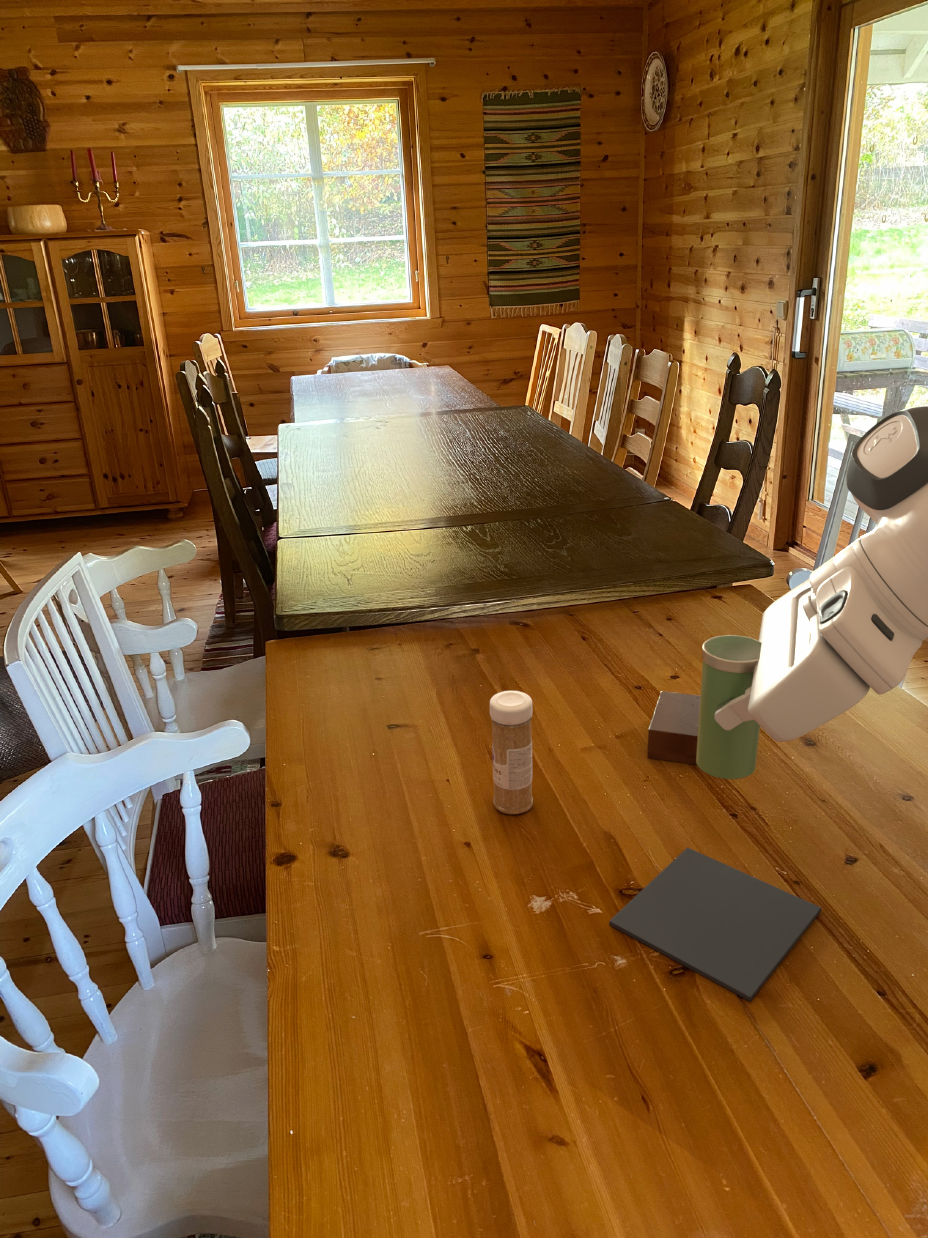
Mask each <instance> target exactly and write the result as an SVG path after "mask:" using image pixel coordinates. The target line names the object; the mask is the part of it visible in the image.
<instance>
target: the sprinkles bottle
mask: <svg viewBox="0 0 928 1238" xmlns="http://www.w3.org/2000/svg"><path fill="white" fill-rule="evenodd" d="M533 710H534V709H533V700H532V698H531V696H530V695H528V694H527V693H525V692H522V691H520V690H503V691H499V692H498V693H495V694H494V695H492V697H491V698H490V700H489V717H490V718H491V726H492V727H491V729H492V731H491V732H492V744H491V745H492V747H491V748H492V779H493V799H492V801H493V806H494V808H495V809H496V810H498V811H499V812H500V813H503V814H506V815H519V814H523V813H527V812H528V811H529V810H530V809H532V807H533V805H534V797H533V783H532V782H533V737H532V718H533V712H534V711H533Z"/></svg>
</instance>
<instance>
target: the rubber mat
mask: <svg viewBox="0 0 928 1238" xmlns="http://www.w3.org/2000/svg"><path fill="white" fill-rule="evenodd" d="M821 912H822V907H821V906H819V905H816V904H815V903H813V902H810V901H808V900H805V899H803V898H801V897H799V896H797V895H794V894H792V893H790V892H788V891H786V890H784V889H781V888H779V887H776V886H774V885H772V884H770V883H767V882H766V881H763V880H761V879H759V878H757V877H755V876H752V875H750V874H748V873H746V872H743V871H740V870H739V869H736V868H734V867H733V866H730V865H728V864H726V863H723V862H721V861H718V860H716V859H714V858H712V857H710V856H707V855H706V854H704V853H701V852H699V851H697V850H694V849H692V848H690V847H686V848H685V849H684V850H683V851H682V852H681V853H680V854H679V855H678V856H677V857H675V858H674V860H672V861H671V862H670V863H669V864H668V865H667V866H666V867H665V868H664V869H663V870H662V871H661V872H659V874H658V875H656V876H655V877H654V878H653V879H652V880H651V881H650V882H649V883H648V884H647V885H646V886H645V887H644V888H643V889H642V890H640V892H638V893H637V894H636V895H635V896H634V897H633V898H632V899H631V900H630V901H629V902H628V903H627V904H626V905H625V906H623V908H621V910H619V911H618V912H617V913H616V914H615V915H614V916H613V917H612V918H611V919H610V920H609V921H608V922H609V923H608V924H609V926H610V927H612V928H613V929H616V930H617V931H620V932H621V933H623V934H625V935H627V936H628V937H631V938H632V939H634V940H636V941H638V942H640V943H642V944H643V945H645V946H646V947H649V948H651V949H652V950H655V951H656V952H658V953H660V954H662V955H664V956H665V957H667V958H670V959H671V960H672V961H675V962H676V963H678V964H681V965H682V966H684V967H686V968H688V969H689V970H691V971H693V972H694V973H697V974H699V975H700V976H702V977H704V978H705V979H708V980H709V981H711V982H713V983H715V984H717V985H718V986H720V987H722V988H724V989H726V990H728V991H730V992H732V993H733V994H736V995H737V996H739V997H741V998H742V999H744V1000H746V1001H748V1002H751V1001H752V1000H753V999H754V998H755V996H756V995H757V993H758V992H759V991H760V990H761V989H762V987H763V986H764V985H765V983H766V982H767V981H768V980H769V978H770V977H771V976H772V975H773V973H774V972H775V971H776V969H777V968H778V967H779V966H780V964H781V963H782V962H783V961H784V959H785V958H786V957H787V955H788V954H789V953H790V952H791V951H792V949H793V948H794V946H795V945H796V944H797V943H798V942H799V940H800V939H801V938H802V937H803V936H804V934H805V933H806V931H807V930H808V929H809V927H811V925H812V924H813V922H815V920H816V919H817V917H818V916H819V915H820V913H821Z"/></svg>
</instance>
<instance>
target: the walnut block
mask: <svg viewBox="0 0 928 1238" xmlns="http://www.w3.org/2000/svg"><path fill="white" fill-rule="evenodd" d="M700 696H701V695H699V694H689V693H680V692H673V691H665V690H662V691H660V694H659V697H658V700H657V703H656V706H655V709H654V712H653V715H652V718H651V721H650V724H649V727H648V732H647V752H646V753H647V755H646V757H647V759H650V760H651V759H653V760H659V761H665V762H672V763H673V762H674V763H681V764H686V765H693V766H698V765H697V763H696V754H697V739H698V725H699V710H700Z"/></svg>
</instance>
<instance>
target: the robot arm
mask: <svg viewBox="0 0 928 1238" xmlns="http://www.w3.org/2000/svg"><path fill="white" fill-rule="evenodd" d="M845 479H846V481H845V482H846V487H847V490H848V491H849V493H850V495H851V496H852V498H853V499H854V502H855V503H856V505H857V506H858V507H859V508H860V509H861V510H862V511H863V512H864V513H865V514H866V515H867V516H868V517H869V518H870V519H871V520H872V521H873V522H874V523H875V524H876V526H875V527H874V529H872V530H871V531H869V532H866V533H865V534H863V535H861V536H860V537H858V538H857V539H855V540H854V541H853V542H851V543H850V544H849V545H847V546H846V547H844V548H843V549H842V550H840V551H839V552H837V553H836V554H835V555H834V556H832V557H831V558H830V559H828V560H827V561H825V562H824V563H823V564H821V565H819V567H817V568H816V569H815V570H813V571H812V572H810V574H809V578H807V579H806V580H805V581H803V582H801V583H800V584H798V585H796V586H795V587H793V588H792V589H791V590H789V591H788V592H786V593H784V594H783V595H782V596H780V597H779V598H777V599H776V600H775V601H773V602H772V603H771V604H770V605H769V606H768V607H767V608H766V609H765V610H764V612H763V613H762V617H761V624H760V629H759V635H758V636H759V637H758V641H760V642H762V645H761V652H760V659H759V661H758V662H757V663H756V665H755V668H754V674H753V680H752V686H751V687H750V688H748V689H747V690H746V691H745V694H744V695H741V696H739V697H737V698H735V699H732V698H731V697H730V698H729V699H727V700H726V701H724V702H723V703H722V704H720V705H718V706H717V708H716V712H715V716H714V718H715V720H716V722H717V723H718V724H719V725H720V726H721V727H722V728H723V729H725V730H732V729H733V728H735V727H736V726H738V725H739V724H741V723H742V722H745V721H750V720H755V721H756V722H757V723H758V724H759V726H760V729H762V730H763V731H764V732H765V733H766V734H767V735H768V736H769V737H770V738H771V739H772V740H773V741H775V742H777V743H784V742H792V741H795V740H797V739H799V738H802V737H803V736H806V735H808V734H809V733H811V732H813V731H815V730H816V729H818V728H820V727H822V726H824V725H825V724H827V723H829V722H831V721H832V720H834V719H835V718H838V717H839V716H841V715H843V714H844V713H846V712H847V711H849V710H850V709H852V708H853V707H855V706H856V705H858V704H859V703H860V702H861V701H862V700H863V699H864V698H865V697H866V696H867V695H868V693H869V692H870V689H872V690H873V692H874V693H876V694H877V695H879V696H880V695H884V694H886V693H888V692H890V691H892V690H893V689H895V688H896V687H898V686H899V685H901V683H902V682H903V681H904V679H905V678H906V674H907V672H908V669H909V666H910V664H911V661H912V660H913V658H914V656H915V654H916V653H917V651H918V650H919V649H920V648H921V647H922V644H923V641H925V640H927V639H928V405H925V404H924V405H916V406H911V407H907V408H904V409H900V410H898V411H895V412H893V413H891V414H888V415H887V416H885V417H884V418H882V419H881V420H880V421H878V422H877V423H875V424H874V425H873V426H872V427H871V428H869V429H868V430H867V431H866V432H865V433H864V434H863V435H862V436H861V437H860V438H859V440H858V441H857V442H856V444H854V447H853V448H852V451H851V454H850V456H849V459H848V463H847V467H846V477H845Z"/></svg>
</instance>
